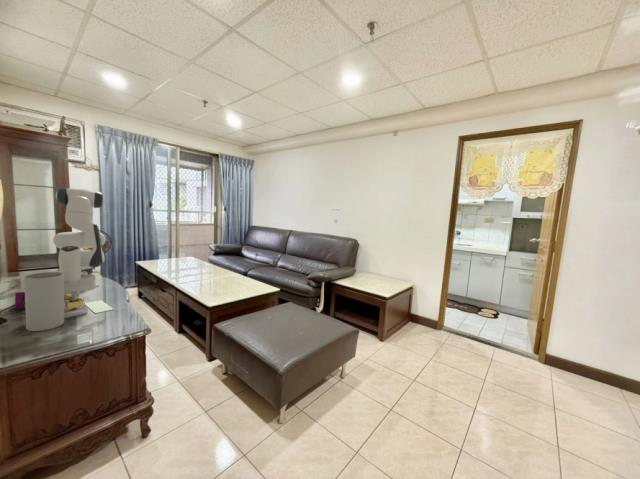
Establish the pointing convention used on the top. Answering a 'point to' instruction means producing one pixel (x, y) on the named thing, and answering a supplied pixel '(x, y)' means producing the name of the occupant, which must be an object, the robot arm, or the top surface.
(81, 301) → the brass hook
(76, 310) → the toggle switch block
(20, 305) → the mounting bracket
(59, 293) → the cylinder vase
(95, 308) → the sage mat
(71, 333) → the top surface
